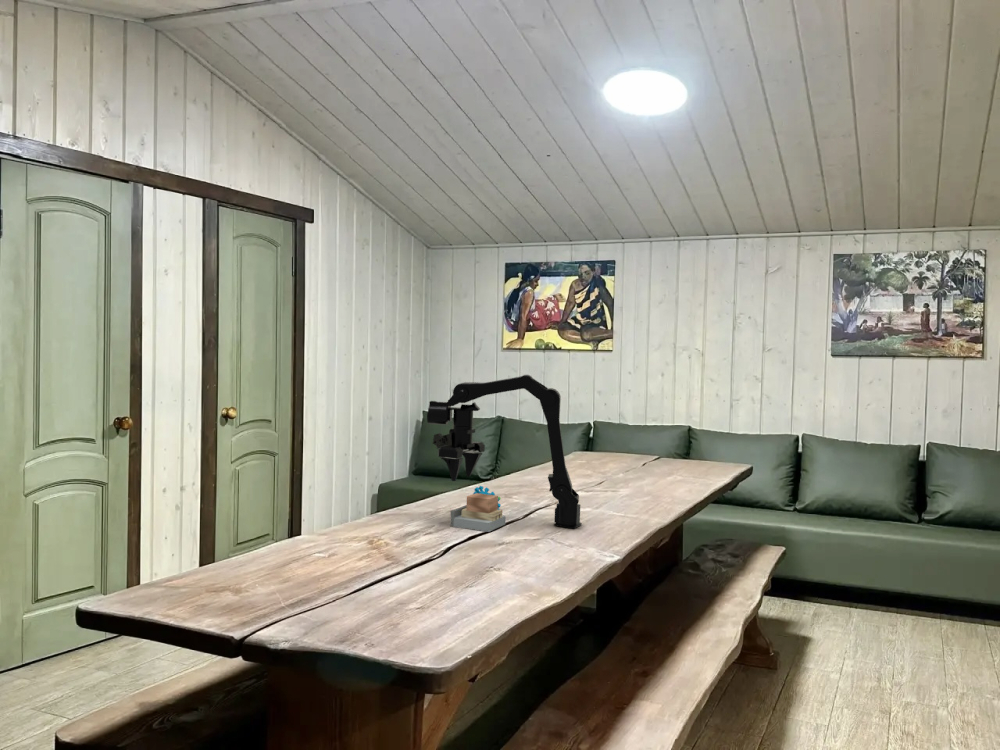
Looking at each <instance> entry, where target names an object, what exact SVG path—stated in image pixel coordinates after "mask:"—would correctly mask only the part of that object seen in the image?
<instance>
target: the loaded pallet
mask: <svg viewBox="0 0 1000 750" xmlns="http://www.w3.org/2000/svg"><path fill="white" fill-rule="evenodd" d="M498 497H499V495H496V494H495V495H488V494H479V493H475V494H473V493H472V494H470V495H468V496H466V504H465V505H466V508H465V509H463V510H462V513H461V517H466V518H473V519H480V520H488V521H495V520H497V519H499V518H502V515H503V509H502V510H501V509H500V510H498V503H499V501H498Z"/></svg>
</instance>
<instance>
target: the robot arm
mask: <svg viewBox="0 0 1000 750" xmlns="http://www.w3.org/2000/svg"><path fill="white" fill-rule="evenodd" d="M523 389H524V390H525V391H527V392H528V393H530V394H531V395H532V396H534V398H536V399H538V400H539V403H540V405H541V409H542V413H543V415H544V417H545V420H546V426H547V431H548V432H547V433H548V441H549V448H550V455H551V462H552V473H548V476H547V479H548V483H549V492H551V494H552V497H554V498H555V499H556V500H557V501H558V503H556V508H554V517H553V518H554V520H553V521H554V523H553V526H555V527H558V528H559V527H562V528H568V529H576V528H578V527H580V526H582V524H583V523H582V522H581V504H579V501H580V494H578V492H577V491H576V490H574V488H573V483H572V481H571V477H570V474H569V471H568V469H567V466H566V465H567V464H566V460H565V459H566V458H565V451H564V443H563V436H562V429H561V421H560V419H561V415H560V414H561V400H562V399H561V394H560V392H559V391H558V390H557V389H555V388H552V387H550V388H549V387H547V386H545V385H544V384H542V383H541V382H539V381H538V380H536V379H535V378H533V377H532V375H529V374H523V375H521V376H515V377H510V378H504V379H498V380H492V381H487V382H479V381H478V382H475V381H474V382H470V381H469V382H466V381H465V382H461V383H458V384H456V385H455V386H454V388H453V390H452V396H450V398H449V399H448V400H447V401H436V400H430V401H428V402H429V404H428V408H427V409H428V411H427V413H426V422H427V424H428V425H441V426H442V425H444V426H448V424H449V422H452V428H450V429H449V431H448V434H445V435H443V434H442V433H440V432H439V433H436V434H435V433H434V434H433V438H432V445H435V447H436V449H437V457H438V458H439V457H440V459H441V460H443V461H444V462H445V464H446V465H447V468H448V469H447V470H448V473H449V475H450V478H451V481H452V482H456V480H457V478H458V475H459V472H460V468H461V465H462V462H463V459H464V463H465V476H466V477H467V478H468V477H471V475H472V474H473V471H474V469H475V468H476V466H477V463H478V462H479V460H480V458H481V456H482V455H483V452H485V449H486V447H485V446H486V445H485V444H484V442H482V441H475V440H473V433H474V434H475V433H476V429H475V428H473V426H474V425H473V424H474V422H473V421H474V412H477V411H480V410H481V408H480V407H479V406H478V405H477V403H476V402H475V401H474V400H476V399H479V398H482V397H485V396H488V395H489V396H490V395H494V394H501V393H506V392H511V391H517V390H523ZM471 401H474V402H472V403H471V404H465V403H468V402H471ZM459 404H461V405H460V407H455V406H456V405H459ZM452 420H453V421H452Z"/></svg>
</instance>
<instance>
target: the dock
mask: <svg viewBox="0 0 1000 750" xmlns="http://www.w3.org/2000/svg"><path fill="white" fill-rule="evenodd" d="M466 505H467V504H465V505H463V506H460V507H458V508H455V509H452V510H450V525H449V526H450V527H451V526H452V527H451V528H458V527H459V528H460V529H465V528H469V529H468V530H472V529H475V530H474V531H479V530H481V532H486V533H487V532H488V533H490V532H491V531H494V530H496V529H498V528H501V527H503V526H505V525H506V517H507V516H506V515H505V514H504V515H503V514H502V518H499V519H497V520H495V521H488V520H480V519H473V518H466V517H461V513H462V510H463V509H465V508H466ZM459 528H458V529H459Z"/></svg>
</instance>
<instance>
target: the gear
mask: <svg viewBox="0 0 1000 750" xmlns="http://www.w3.org/2000/svg"><path fill="white" fill-rule="evenodd" d="M489 491H490V489H489V488H488V487H485V488H484V486H482V485H479V487H475V488H474V491H473V493H472V494H475V493H479V494H488V495H496V494H495V491H491V492H490V493H489ZM501 499H502V498H501V497H500V496H498V510H501V509H500V508H501V503H499V502H500V500H501Z"/></svg>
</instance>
